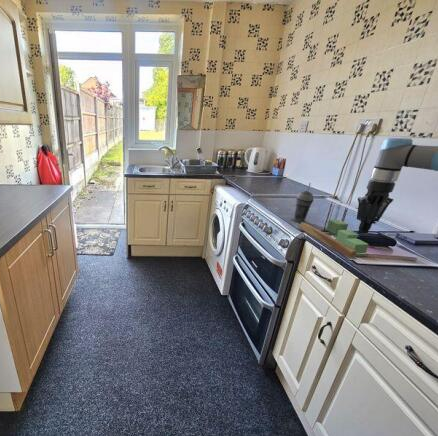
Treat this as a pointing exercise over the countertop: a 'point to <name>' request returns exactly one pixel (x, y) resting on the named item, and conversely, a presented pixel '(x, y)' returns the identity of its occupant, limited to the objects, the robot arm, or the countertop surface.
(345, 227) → the block
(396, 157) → the robot arm
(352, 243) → the block
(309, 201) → the beverage cup
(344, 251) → the oak rail
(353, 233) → the block middle
